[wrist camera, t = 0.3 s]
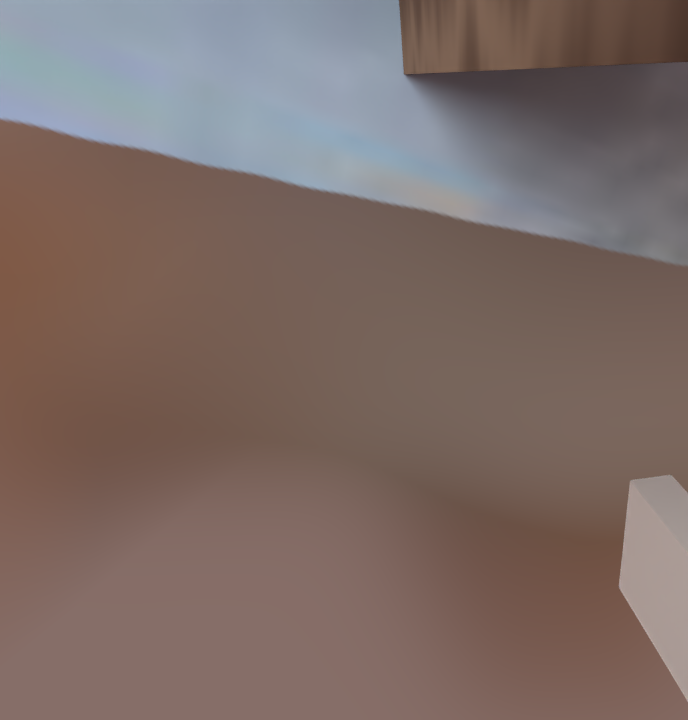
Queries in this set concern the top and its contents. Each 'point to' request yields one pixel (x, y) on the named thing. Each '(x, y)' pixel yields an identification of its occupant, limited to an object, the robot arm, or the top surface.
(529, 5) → the walnut stand
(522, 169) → the top surface
